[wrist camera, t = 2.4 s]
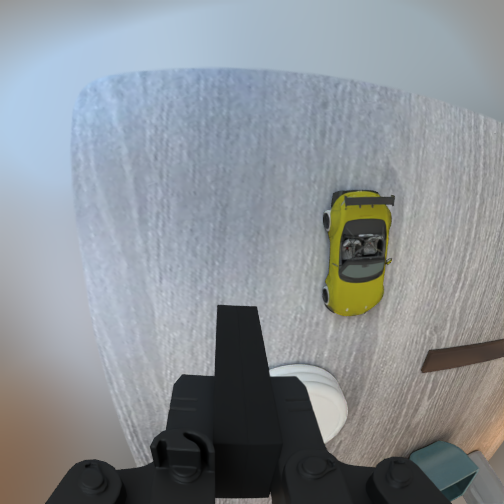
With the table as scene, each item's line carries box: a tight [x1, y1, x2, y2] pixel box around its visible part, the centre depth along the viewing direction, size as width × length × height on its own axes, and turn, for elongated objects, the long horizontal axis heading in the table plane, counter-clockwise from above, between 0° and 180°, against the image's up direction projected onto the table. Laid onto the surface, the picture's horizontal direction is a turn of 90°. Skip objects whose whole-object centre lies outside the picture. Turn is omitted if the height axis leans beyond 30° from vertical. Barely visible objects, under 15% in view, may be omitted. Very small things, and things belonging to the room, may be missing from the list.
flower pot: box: [409, 441, 480, 502], centre depth 31 cm, size 9×9×9 cm
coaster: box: [269, 364, 348, 444], centre depth 27 cm, size 10×10×4 cm
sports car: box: [323, 190, 395, 316], centre depth 22 cm, size 5×10×3 cm, turn 3°
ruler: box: [421, 339, 504, 373], centre depth 29 cm, size 3×22×1 cm, turn 85°
